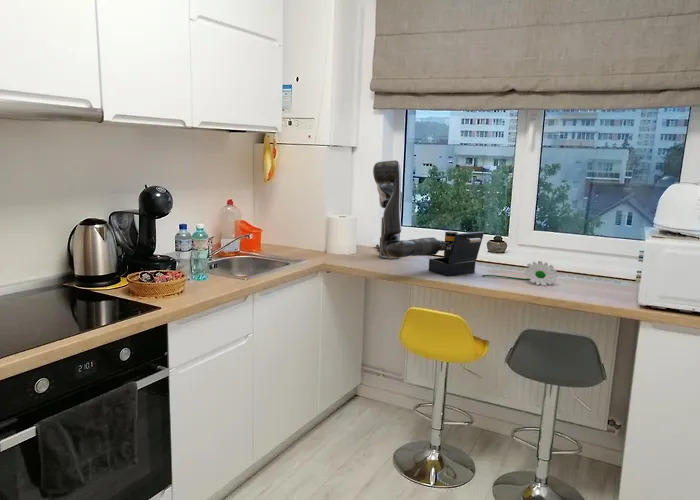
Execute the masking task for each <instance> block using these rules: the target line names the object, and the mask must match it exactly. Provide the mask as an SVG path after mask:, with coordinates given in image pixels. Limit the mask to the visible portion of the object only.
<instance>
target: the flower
mask: <svg viewBox="0 0 700 500" xmlns="http://www.w3.org/2000/svg"><path fill="white" fill-rule="evenodd" d="M526 266H527V267H524V270H526V271H523V274H524V275H525V276H526V277H525V278H523V277H522V278H521V277H516V276H515V277H513V276H506V275H496V274H482V277H493V278H503V279H504V278H505V279H513V280H520V281H521V280H522V281H529V283H532V284H533V283H535V284H536V286H539V285H541V286H542V287H544V286H546V287H547V284H548V285H552V284H553V283H555V282H556V281H557V279H556V278H558V277H559V273H557V269H554V265H552V264H550V265H548V262H547V261H546V262H544V263H543V261H542V260H538V261H537V262H535V261H532V263H528V264H526ZM552 282H553V283H552Z"/></svg>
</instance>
